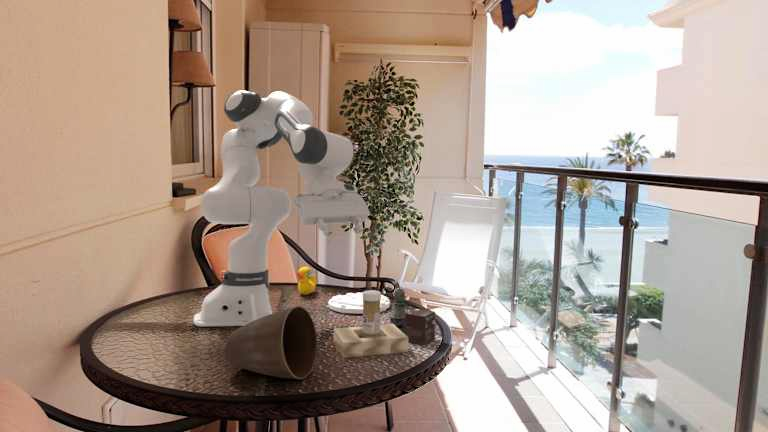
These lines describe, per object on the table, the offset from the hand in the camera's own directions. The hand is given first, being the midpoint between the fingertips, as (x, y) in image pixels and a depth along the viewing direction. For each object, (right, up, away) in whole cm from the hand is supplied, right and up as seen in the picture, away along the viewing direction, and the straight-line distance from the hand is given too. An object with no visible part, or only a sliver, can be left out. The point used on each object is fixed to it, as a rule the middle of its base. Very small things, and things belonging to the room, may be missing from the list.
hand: (344, 233), depth 136 cm
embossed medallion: (+2, -26, +31) cm, 40 cm away
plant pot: (-22, -24, -24) cm, 41 cm away
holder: (+7, -28, -8) cm, 30 cm away
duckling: (-17, -24, +48) cm, 56 cm away
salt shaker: (+15, -27, +8) cm, 32 cm away
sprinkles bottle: (+7, -28, -8) cm, 30 cm away
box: (+20, -28, -2) cm, 34 cm away
